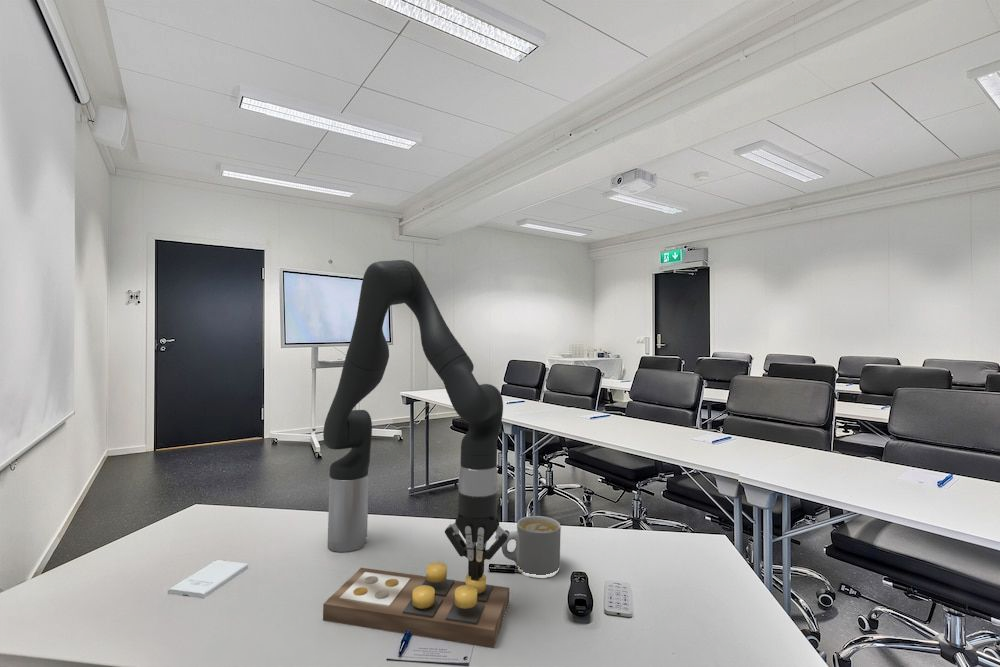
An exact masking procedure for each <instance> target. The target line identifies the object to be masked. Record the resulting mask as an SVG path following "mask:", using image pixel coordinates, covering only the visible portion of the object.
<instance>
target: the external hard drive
mask: <svg viewBox="0 0 1000 667" xmlns="http://www.w3.org/2000/svg"><path fill="white" fill-rule="evenodd" d="M248 568H249V564H248V563H247V562H246V563H245V562H237V561H228V560H220V559H217V560H214V561H213V562H211V563H209V564H208V565H206V566H204V567H202V568H201V569H200V570H198V571H196V572H195V573H193V574H191V575H190V576H188V577H186V578H185V579H183V580H182V581H180V582H179V583H176V584H175V585H173V586H172V587H170V588H168V589H167V594H169V595H170V594H171V595H176V596H188V597H190V598H198V599H204V598H207V597H208V596H209V595H211V594H212V593H215V591H216V590H218V589H220V588H221V587H223V586H224V585H225V584H227V583H229V582H230V581H231V580H233V579H234V578H235V577H237V576H239V575H240V574H241V573H243V572H245V571H246V570H247V569H248Z"/></svg>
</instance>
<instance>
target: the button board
mask: <svg viewBox="0 0 1000 667" xmlns="http://www.w3.org/2000/svg"><path fill="white" fill-rule="evenodd" d="M465 582H466V581H462V580H454V579H449V578H446V579H445V580H444V581H442V582H430V581H428V580H427V579H426V576H424V575H418V574H411V573H404V572H396V571H389V570H382V569H374V568H373V569H372V568H366V567H360V568H359V569H358V570H356V572H355V573H353V575H352V576H351V577H350V578H348V580H346V581H345V582H344V583H343V584H342V585H341V586H340V587H339V588H338V589H337V590H336V591H335V592H334V593H333V594H332V595H331V596H330V597H329V598H328V599H326V600H325V602H324V603H323V604H322V605H323V606H322V607H323V608H322V610H323V611H322V621H325V622H332V623H338V624H344V625H350V626H357V627H363V628H368V629H369V628H370V629H375V630H381V631H387V632H394V633H399V634H404V633H405V632H406V631H407V630H409V631H410V633H411V634H412V635H411V634H410V635H411V636H416V637H418V636H419V637H423V638H430V639H436V640H441V641H447V642H455V643H459V644H467V645H473V646H477V647H478V646H480V647H486V648H490V649H494V648H495V645H496V642H497V639H498V636H499V634H500V632H501V631H500V630H501V627H502V624H503V622H504V619H505V616H506V613H507V610H508V607H509V605H508V603H509V604H510V587H507V586H501V585H500V586H498V585H493V584H488V583H486V590H485V591H484V592H482V593H479V594H477V604H476V605H475V606H474V607H472V608H467V609H464V608H459V607H457V606H456V605H455V589H456V588H457V587H459V586H462V585H465ZM423 585H427V586H431V587H433V588H434V589H435V602H434V604H433V605H432V606H431V607H428V608H416V607H415V606H413V604H412V596H413V590H414V589H415V588H416V587H418V586H423ZM507 606H508V607H507ZM506 609H507V610H506ZM505 612H506V613H505ZM504 615H505V616H504ZM503 618H504V619H503ZM502 621H503V622H502Z"/></svg>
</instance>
